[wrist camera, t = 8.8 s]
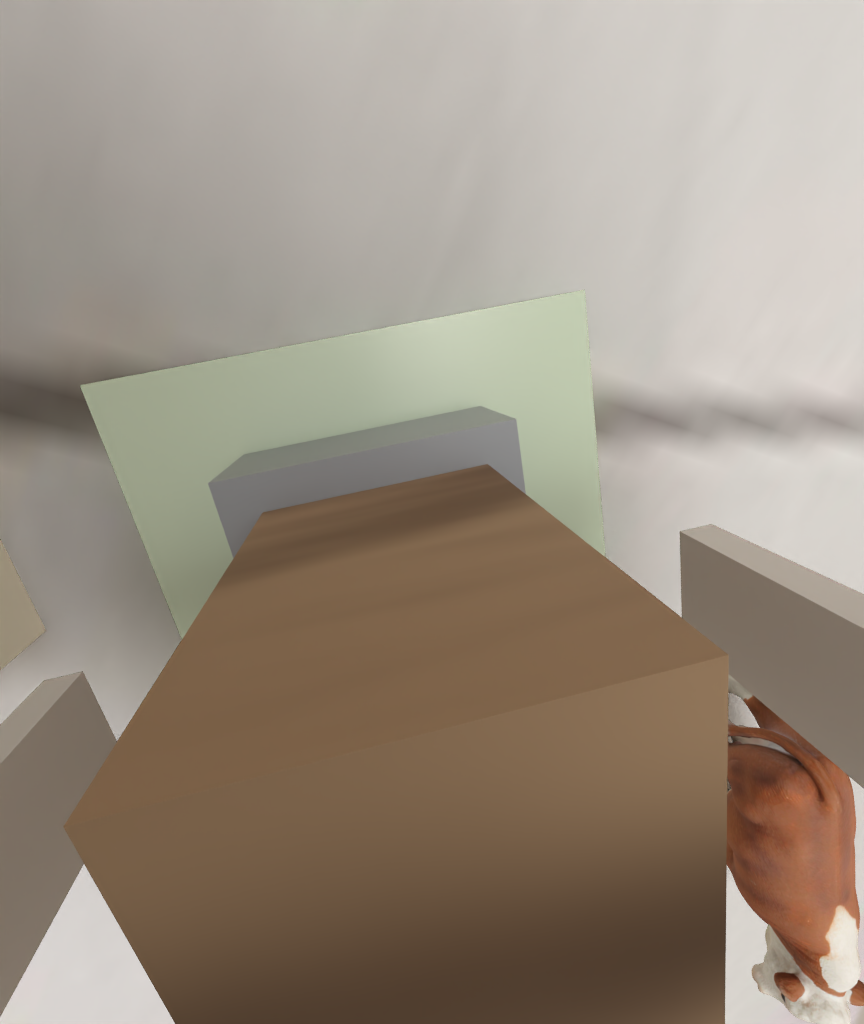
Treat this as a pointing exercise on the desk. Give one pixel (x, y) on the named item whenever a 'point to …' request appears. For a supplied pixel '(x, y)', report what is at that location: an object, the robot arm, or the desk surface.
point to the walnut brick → (423, 779)
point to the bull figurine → (795, 864)
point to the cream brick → (15, 613)
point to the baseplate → (351, 429)
